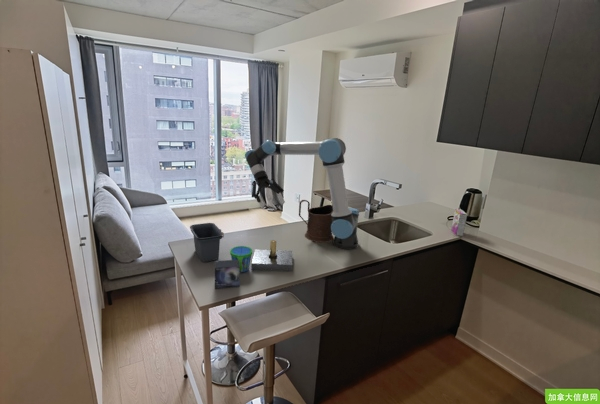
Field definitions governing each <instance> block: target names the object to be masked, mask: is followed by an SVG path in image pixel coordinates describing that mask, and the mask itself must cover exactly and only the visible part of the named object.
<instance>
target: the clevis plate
mask: <svg viewBox="0 0 600 404" xmlns="http://www.w3.org/2000/svg"><path fill="white" fill-rule="evenodd" d="M251 259H252V260H251V262H250V265H251V266H250V267H251V268H250V269H251V271H273V272H274V271H275V272H276V271H277V272H278V271H279V272H293V250H283V249H282V250H279V249H278V250H277V249H276V259H270V249H258V248H257V249H254V253H253V256H252V258H251Z"/></svg>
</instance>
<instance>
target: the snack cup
mask: <svg viewBox="0 0 600 404" xmlns="http://www.w3.org/2000/svg"><path fill="white" fill-rule="evenodd" d="M252 254H253V249H252V248H251V247H249V246H246V245H238V246H234V247H232V248H231V249H230V250H229V255H230V257H231V260H239V265H240V273H241V274H242V273H246V272H248V271H249V269H250V265H251V261H252V260H251V259H252Z"/></svg>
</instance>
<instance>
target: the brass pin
mask: <svg viewBox="0 0 600 404" xmlns="http://www.w3.org/2000/svg"><path fill="white" fill-rule="evenodd" d="M269 245H270V249H269V250H270V259H276V250H277V241H276V240H274V239H272V240H270V244H269Z"/></svg>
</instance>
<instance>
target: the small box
mask: <svg viewBox="0 0 600 404" xmlns="http://www.w3.org/2000/svg"><path fill="white" fill-rule="evenodd" d="M237 287H238V288H239V287H240V265H239V260H232V259H229V260H227V259H226V260H216V261H215V260H214V288H215V289H216V290H217V289H225V288H227V289H228V288H230V289H231V288H237Z"/></svg>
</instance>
